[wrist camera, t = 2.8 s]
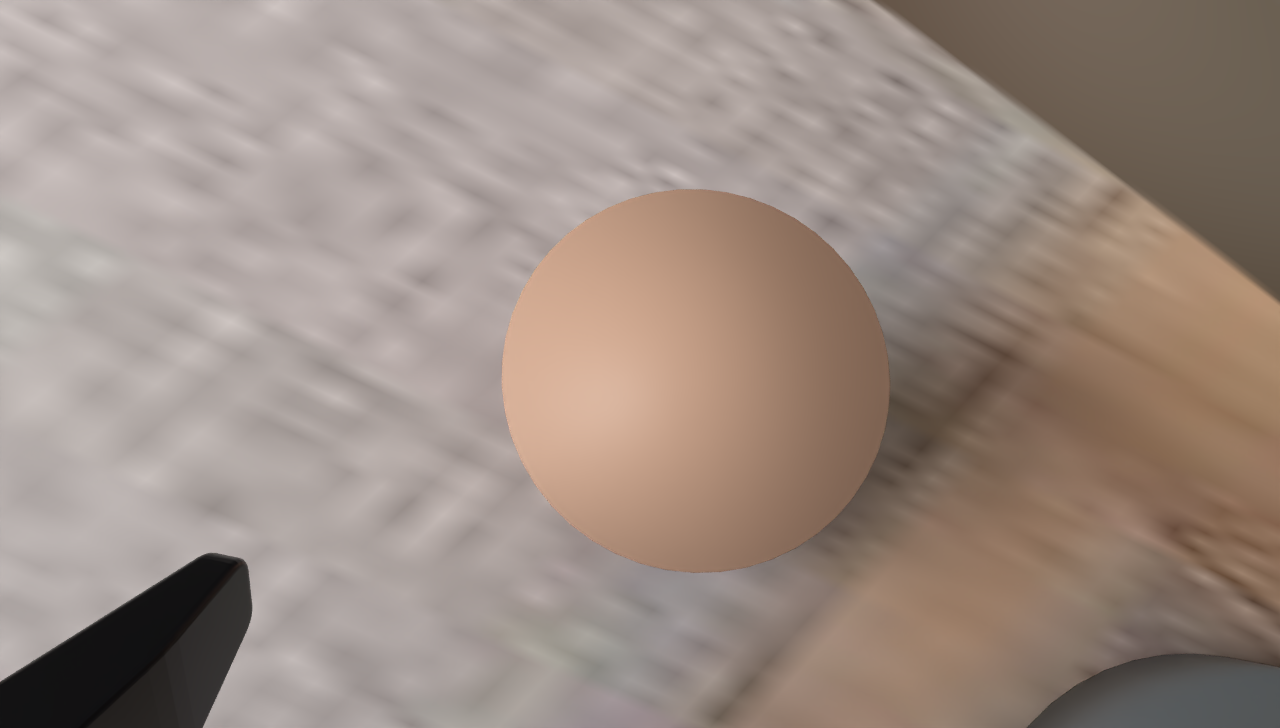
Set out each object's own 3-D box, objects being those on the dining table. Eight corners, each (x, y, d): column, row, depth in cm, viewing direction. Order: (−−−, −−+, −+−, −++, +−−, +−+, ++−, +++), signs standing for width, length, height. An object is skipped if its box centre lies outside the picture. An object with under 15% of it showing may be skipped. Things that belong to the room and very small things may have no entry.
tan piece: (759, 544, 20) (917, 552, 10) (552, 564, 20) (514, 592, 10) (736, 344, 21) (860, 178, 11) (538, 359, 21) (491, 201, 11)
